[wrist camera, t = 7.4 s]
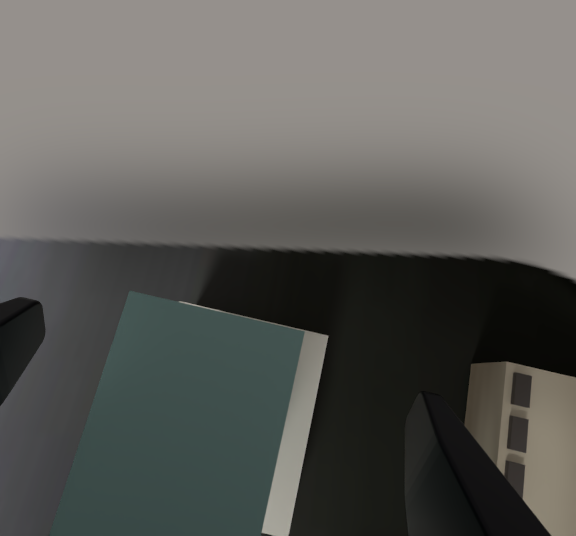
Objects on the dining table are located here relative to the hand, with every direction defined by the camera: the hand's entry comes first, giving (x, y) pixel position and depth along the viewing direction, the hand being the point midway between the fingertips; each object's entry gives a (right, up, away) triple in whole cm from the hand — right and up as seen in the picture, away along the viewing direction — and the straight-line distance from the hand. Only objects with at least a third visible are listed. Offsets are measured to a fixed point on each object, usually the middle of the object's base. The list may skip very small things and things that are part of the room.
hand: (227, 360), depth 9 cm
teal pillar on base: (-1, -3, +6) cm, 7 cm away
